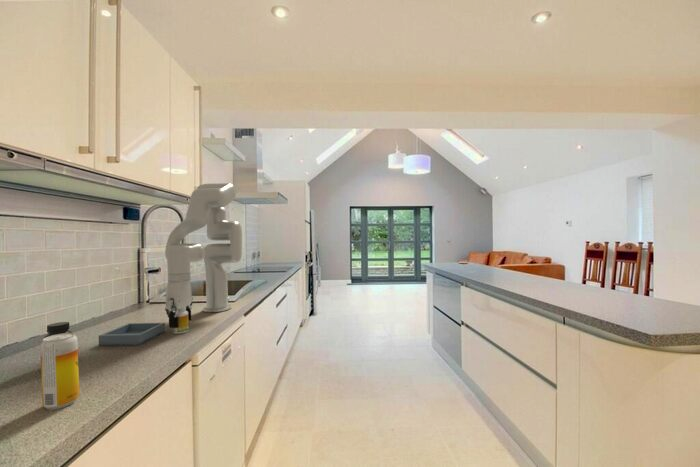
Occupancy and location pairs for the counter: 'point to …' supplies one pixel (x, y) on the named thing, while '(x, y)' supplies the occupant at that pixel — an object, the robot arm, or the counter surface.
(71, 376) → the pill bottle
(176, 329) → the supplement bottle
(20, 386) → the counter surface
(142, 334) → the tray
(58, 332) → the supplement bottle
